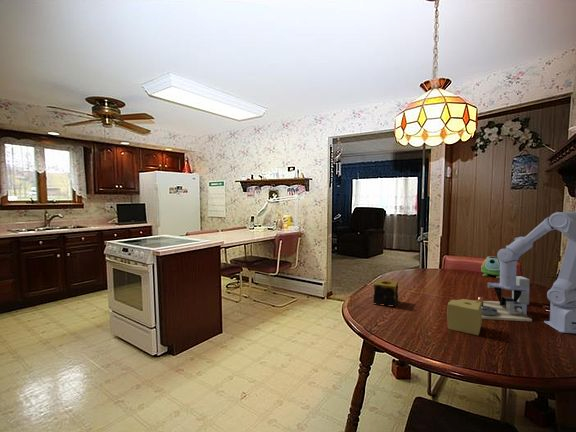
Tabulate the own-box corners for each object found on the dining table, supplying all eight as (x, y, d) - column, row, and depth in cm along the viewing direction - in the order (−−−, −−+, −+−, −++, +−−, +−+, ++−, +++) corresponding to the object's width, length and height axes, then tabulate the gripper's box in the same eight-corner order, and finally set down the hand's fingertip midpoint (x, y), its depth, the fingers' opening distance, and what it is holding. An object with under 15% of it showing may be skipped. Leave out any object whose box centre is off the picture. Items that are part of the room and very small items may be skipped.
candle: (373, 304, 137) (372, 284, 137) (377, 298, 146) (377, 278, 146) (395, 308, 133) (395, 286, 132) (398, 301, 141) (398, 281, 141)
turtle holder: (515, 280, 171) (516, 261, 170) (479, 276, 183) (479, 257, 182) (517, 276, 180) (517, 257, 179) (482, 272, 192) (482, 254, 191)
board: (531, 321, 115) (531, 319, 115) (476, 318, 119) (476, 316, 119) (504, 303, 135) (504, 301, 135) (457, 301, 139) (457, 299, 139)
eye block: (526, 315, 118) (526, 304, 118) (510, 314, 120) (510, 303, 119) (522, 312, 121) (522, 301, 121) (506, 312, 123) (506, 301, 122)
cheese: (451, 320, 118) (452, 296, 118) (483, 327, 111) (483, 301, 111) (446, 329, 110) (446, 303, 110) (480, 337, 103) (480, 310, 103)
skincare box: (529, 305, 133) (530, 279, 132) (518, 304, 133) (519, 279, 133) (521, 300, 139) (522, 276, 138) (511, 300, 139) (512, 275, 139)
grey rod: (525, 317, 117) (525, 306, 116) (517, 316, 117) (517, 305, 117) (509, 306, 128) (509, 296, 128) (501, 306, 129) (501, 296, 128)
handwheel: (491, 308, 126) (491, 297, 126) (501, 316, 117) (501, 304, 117) (468, 307, 128) (468, 296, 128) (477, 315, 119) (477, 303, 119)
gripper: (487, 275, 127) (487, 305, 128) (530, 280, 119) (529, 312, 119) (488, 272, 133) (487, 300, 134) (528, 276, 124) (528, 307, 125)
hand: (507, 305), depth 127 cm, fingers closed on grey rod, 4 cm apart
